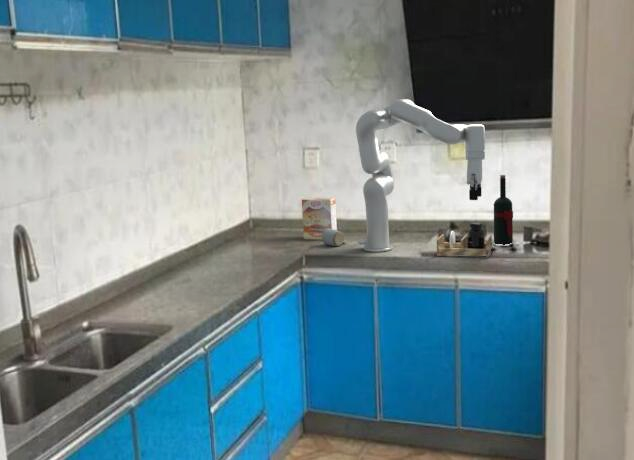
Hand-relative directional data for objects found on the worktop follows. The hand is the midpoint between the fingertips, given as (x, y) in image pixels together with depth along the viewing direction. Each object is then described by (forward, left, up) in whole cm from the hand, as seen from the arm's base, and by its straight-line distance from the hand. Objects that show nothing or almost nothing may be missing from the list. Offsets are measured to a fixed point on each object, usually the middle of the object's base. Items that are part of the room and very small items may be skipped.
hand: (475, 198), depth 289 cm
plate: (-10, 0, -23) cm, 25 cm away
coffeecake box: (-78, +25, -23) cm, 85 cm away
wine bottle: (+9, +18, -23) cm, 31 cm away
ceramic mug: (-65, +11, -23) cm, 70 cm away
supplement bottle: (0, 0, -22) cm, 22 cm away
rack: (-5, 0, -23) cm, 23 cm away
